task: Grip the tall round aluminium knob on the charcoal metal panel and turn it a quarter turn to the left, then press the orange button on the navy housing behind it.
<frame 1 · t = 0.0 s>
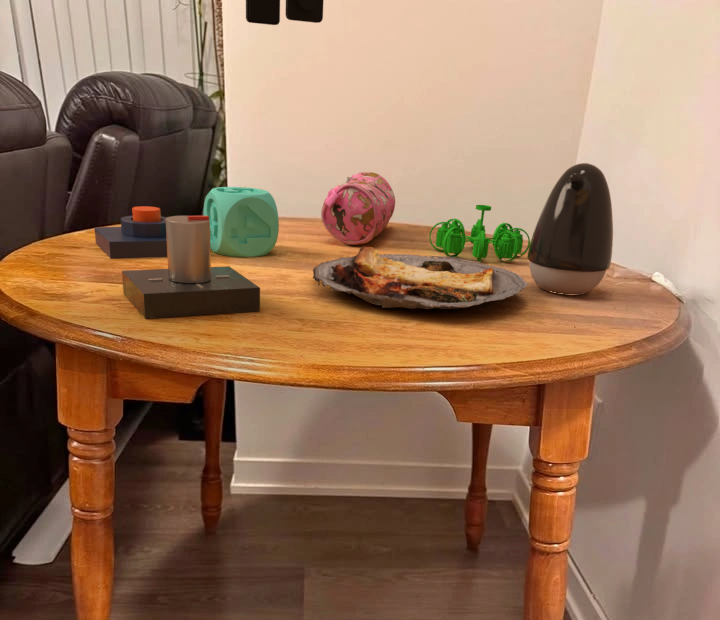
hand: (282, 22, 69), 26 cm above the table, tool pointing down, fingers open, 9 cm apart
pencil case: (358, 237, 125), on the table
knob: (188, 247, 80), point 6 cm above the table, hinge at 0.0°
button: (146, 215, 103), point 4 cm above the table, slide at 0.1 cm
food plate: (416, 295, 93), on the table
knob console: (190, 302, 83), on the table
decorative dice: (240, 253, 108), on the table
chandelier: (477, 255, 117), on the table
button box: (148, 250, 105), on the table
black egg-shaped diffuser: (562, 292, 99), on the table
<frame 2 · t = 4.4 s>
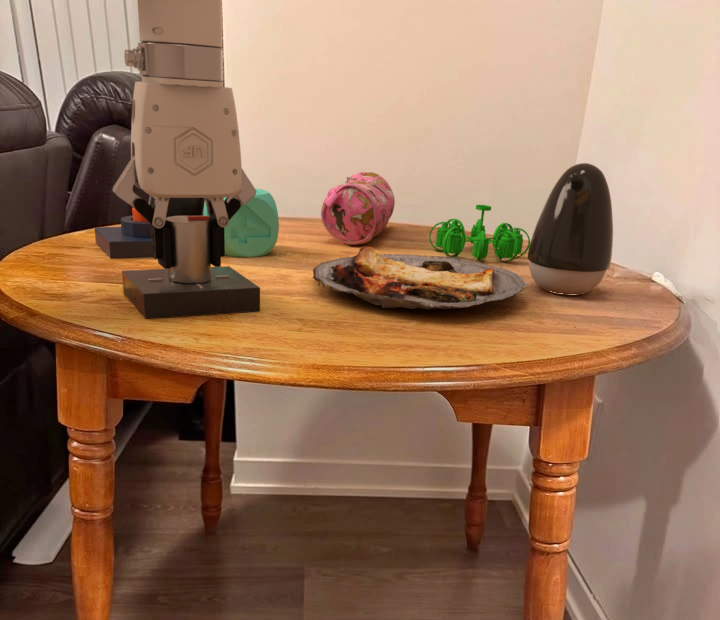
hand: (189, 263, 81), 4 cm above the table, tool pointing down, fingers closed on knob, 4 cm apart
knob: (188, 247, 80), point 6 cm above the table, hinge at 0.1°, touching gripper
everything else where it was.
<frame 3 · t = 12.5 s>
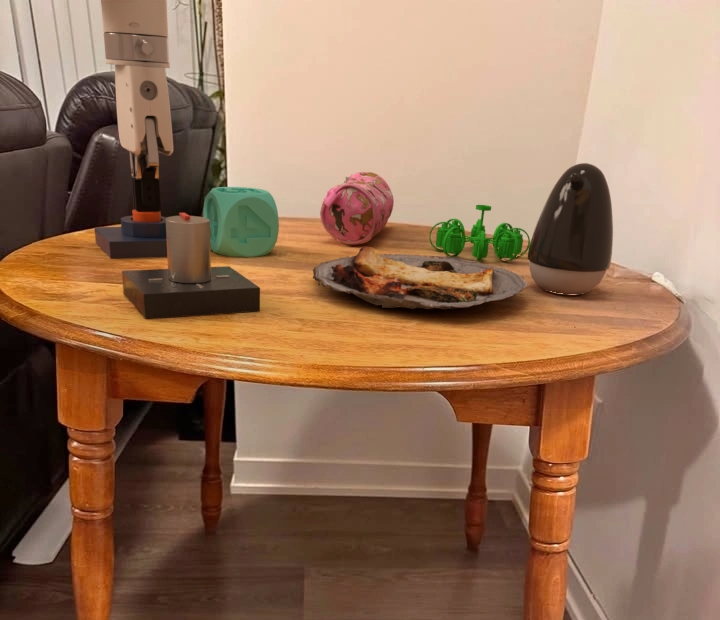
hand: (147, 210, 103), 5 cm above the table, tool pointing down, fingers closed
knob: (188, 247, 80), point 6 cm above the table, hinge at 89.4°
button: (146, 217, 103), point 4 cm above the table, slide at -0.2 cm, touching gripper
everything else where it was.
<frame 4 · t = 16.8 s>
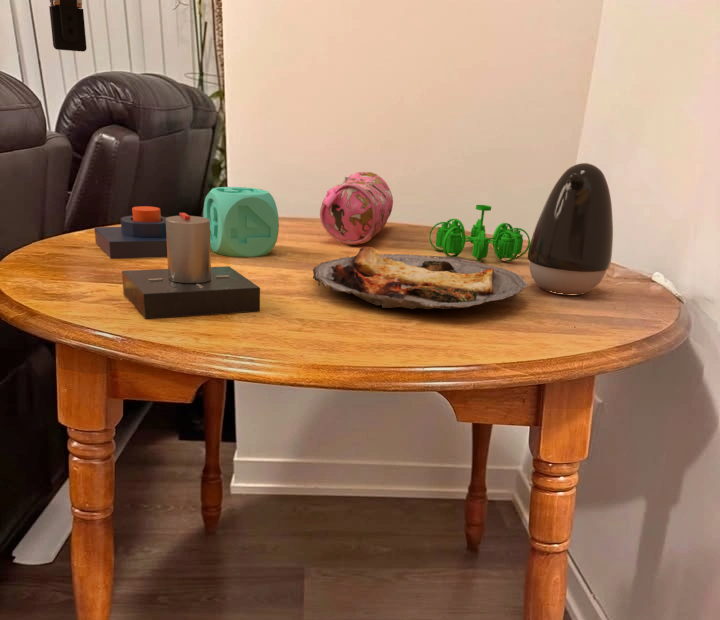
hand: (70, 50, 84), 23 cm above the table, tool pointing down, fingers closed
button: (146, 215, 103), point 5 cm above the table, slide at 0.1 cm
everything else where it was.
at the end: knob at +89° (first picture: +0°); button pushed in 1.1 cm at the most during the clip, back to where it started at the end; button slide at 0.1 cm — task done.
